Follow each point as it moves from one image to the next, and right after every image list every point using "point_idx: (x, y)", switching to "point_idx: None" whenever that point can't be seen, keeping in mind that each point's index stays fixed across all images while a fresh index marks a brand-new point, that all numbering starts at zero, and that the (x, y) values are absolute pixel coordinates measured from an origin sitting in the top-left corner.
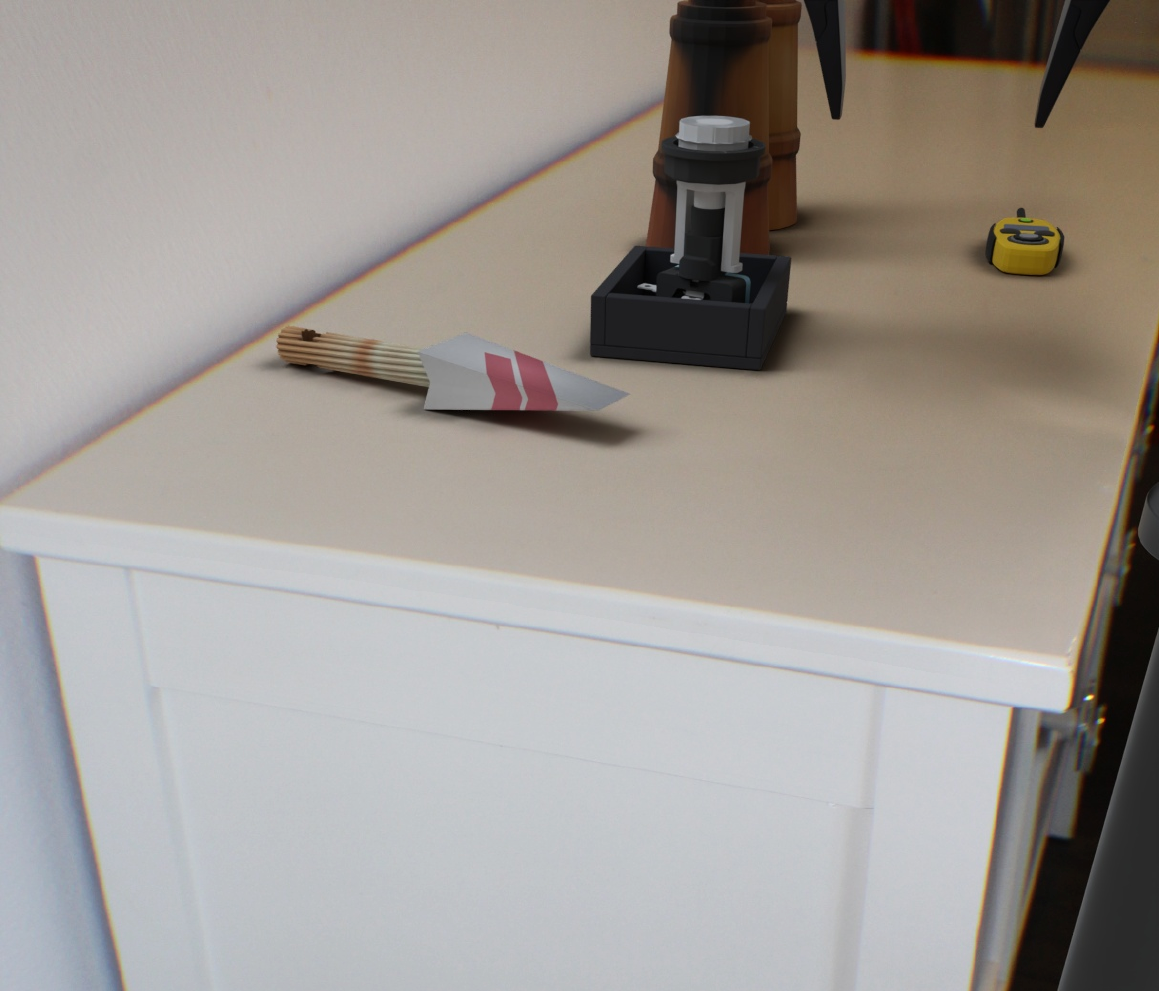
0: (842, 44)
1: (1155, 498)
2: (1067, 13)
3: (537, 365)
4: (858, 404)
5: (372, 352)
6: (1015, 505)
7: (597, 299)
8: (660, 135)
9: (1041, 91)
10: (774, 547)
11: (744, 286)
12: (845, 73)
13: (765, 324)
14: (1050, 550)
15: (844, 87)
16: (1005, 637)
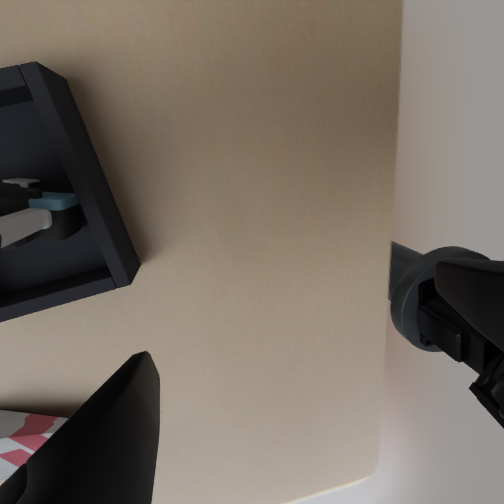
0: (129, 491)
1: (405, 316)
2: None
3: (43, 441)
4: (234, 291)
5: None
6: (348, 377)
7: None
8: None
9: (477, 327)
10: (264, 466)
11: (64, 213)
12: (129, 391)
13: (131, 270)
14: (367, 409)
15: (142, 386)
16: (359, 473)
